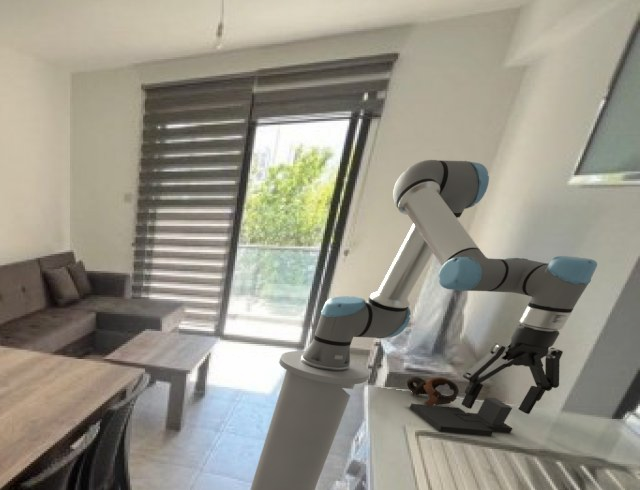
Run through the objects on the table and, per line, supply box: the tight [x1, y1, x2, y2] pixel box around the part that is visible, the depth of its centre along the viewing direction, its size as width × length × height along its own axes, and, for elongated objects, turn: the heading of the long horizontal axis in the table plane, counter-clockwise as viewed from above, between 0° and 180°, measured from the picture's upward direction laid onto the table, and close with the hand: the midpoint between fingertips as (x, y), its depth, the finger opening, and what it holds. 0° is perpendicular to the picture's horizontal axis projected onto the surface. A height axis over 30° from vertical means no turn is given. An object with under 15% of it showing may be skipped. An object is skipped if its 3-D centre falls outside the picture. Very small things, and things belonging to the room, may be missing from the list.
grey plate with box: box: [457, 397, 513, 434], centre depth 123 cm, size 8×10×6 cm
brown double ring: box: [406, 376, 459, 406], centre depth 136 cm, size 12×10×8 cm
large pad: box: [409, 403, 495, 437], centre depth 125 cm, size 14×12×2 cm
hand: (494, 409), depth 122 cm, fingers open, 13 cm apart
